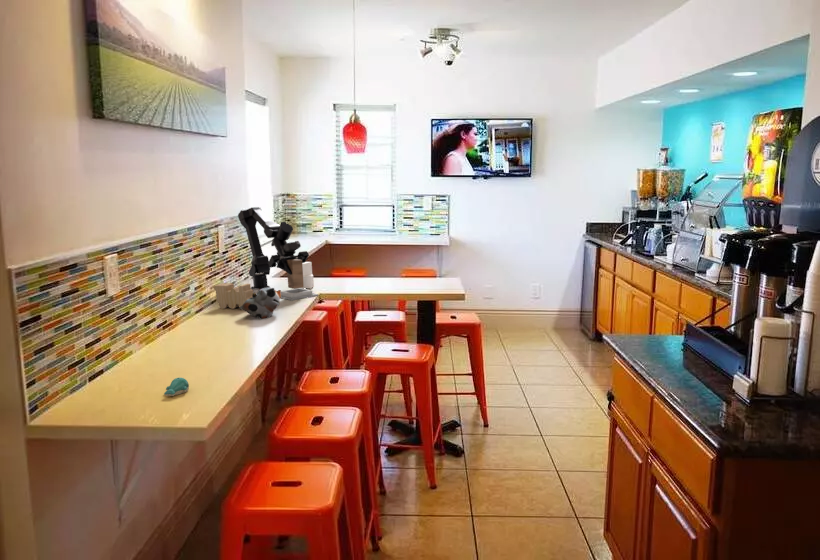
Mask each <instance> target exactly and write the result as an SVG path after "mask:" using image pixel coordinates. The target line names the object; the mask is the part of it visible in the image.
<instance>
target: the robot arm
mask: <svg viewBox="0 0 820 560" xmlns="http://www.w3.org/2000/svg"><path fill="white" fill-rule="evenodd" d="M237 217H238V220H239V221H240V225H241V226H242V227H243V228H244V229H245V231H246V232H245V233H246V235H247V238H248V239H247V240H248V243H249V247H250V251H251V253H252V259H251V262H250V263H251V266H250V268H249V270H248V275H249V277H251V278H252V279H253V280H252V281H253V282H252V284H253V286H251V289H258V290H260V289H263V288H267V287H269V288H271V286H270V285H268V277H267V276H269V275H270V273H271V268H277V269H280V270H282V271H284V272H286V274H287V273H289V274H290V275H292V272H291V269H290V268H289V266H288V264H287V260H292V259H299V260H302V263H305V262H307V260H308V258H309V256H310V253H309V252H308V251H306V250H304V251H299V252H298V253H297V254H296V251H297V250H299V249H300V248H301V247H302V245H301V243H300V241H299V240H295V241H291V242H290V241H289V242H287V241H288V240H289V239H290V237H291V235H292V233H293V231H294V227H293V226H292V225H290V224H289V223H287V222H286V221H281V222H280V224H278V222H274V221H272V220H271V219H270V218H269V217H268V216H267V215H266V214H265V212H264V211H262V208H261V207H259V206H255V207H250V208H248V209H244V210H243V209H242V210H240V211H239V213H238V214H237ZM257 223H258V224H259V225H260V226H261V227H262V228H263V233H264V235H265V237H267V238H268V239H272V240H271V247H275V250H276V251H277V252H276V254H273V255H271V257H269V256H268V255H265V254H264V252H263V250H262V245H261V242H260V238H259V234H258V230H257ZM295 254H296V255H295Z"/></svg>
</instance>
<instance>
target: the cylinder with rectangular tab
mask: <svg viewBox="0 0 820 560" xmlns="http://www.w3.org/2000/svg"><path fill="white" fill-rule="evenodd" d="M312 264H313V263H312V261H306V262H305V263H302V267H303V284H304V287H302V289H304V288H310V289H313V288H312V287H315V280H314V274H313V265H312Z"/></svg>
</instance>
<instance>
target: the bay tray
mask: <svg viewBox="0 0 820 560" xmlns="http://www.w3.org/2000/svg"><path fill="white" fill-rule="evenodd" d="M280 293H281V298H280V299H283V298H284V299H283V300H287V299H288V301H291V300H292V301H296V299H297V300H302V299H301V298H303V299H307V297H308V298H313V297H318V296H319V294H318V293H313V290H310V289H302V288H297V289H292V288H290V289H285V290H281V292H280Z"/></svg>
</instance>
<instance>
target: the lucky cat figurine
mask: <svg viewBox="0 0 820 560" xmlns="http://www.w3.org/2000/svg"><path fill="white" fill-rule="evenodd" d="M281 291H282V290H281V289H279V290H276V288H274V287H267V288H262V289H258V291H257V293H256V292H253V294H252V298H250V299H248V300H246V301H245V302H244V304H243V305H242V306H240V307H238V308H239V310H241V311H244V312H245V313H248V315H250V316H253V317H255V318H259V319H260V320H264V319H268V318H272V317H273V315H274V311H275V310H276V309H277V308H278V306H279V305H280V300H281V299H282V298H281V293H280V292H281Z"/></svg>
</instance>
